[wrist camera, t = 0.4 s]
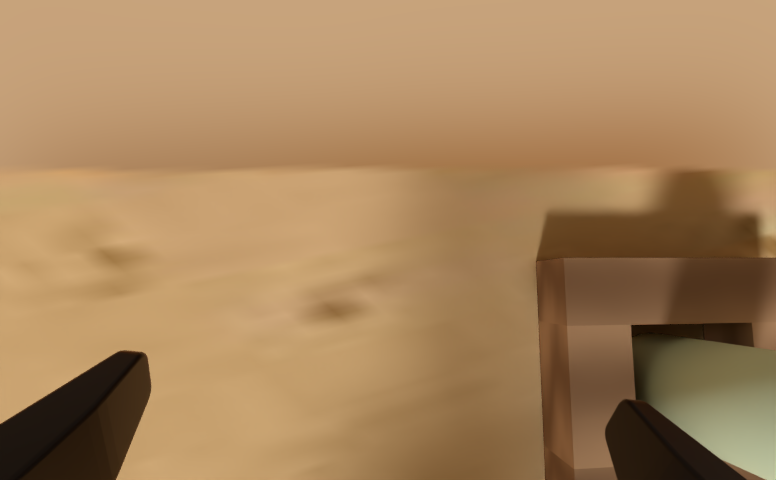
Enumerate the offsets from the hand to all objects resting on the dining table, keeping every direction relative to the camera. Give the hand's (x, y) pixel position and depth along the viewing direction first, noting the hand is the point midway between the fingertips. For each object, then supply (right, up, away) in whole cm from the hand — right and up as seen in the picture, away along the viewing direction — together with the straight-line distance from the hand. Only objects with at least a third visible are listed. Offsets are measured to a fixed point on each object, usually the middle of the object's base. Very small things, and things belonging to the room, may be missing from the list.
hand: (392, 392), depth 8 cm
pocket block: (+15, -5, +16) cm, 22 cm away
